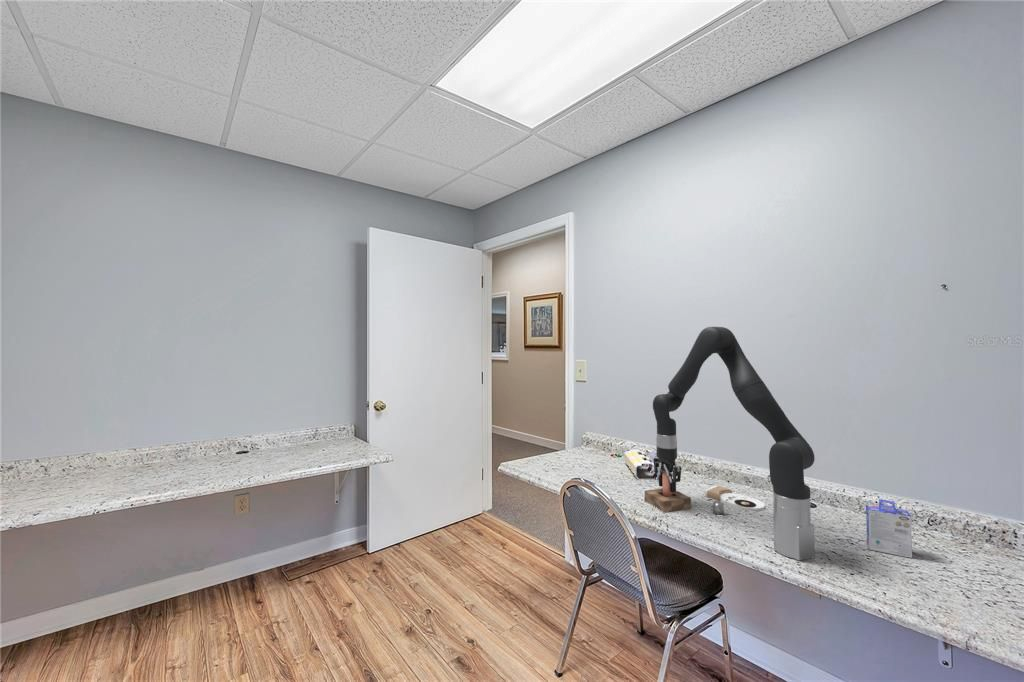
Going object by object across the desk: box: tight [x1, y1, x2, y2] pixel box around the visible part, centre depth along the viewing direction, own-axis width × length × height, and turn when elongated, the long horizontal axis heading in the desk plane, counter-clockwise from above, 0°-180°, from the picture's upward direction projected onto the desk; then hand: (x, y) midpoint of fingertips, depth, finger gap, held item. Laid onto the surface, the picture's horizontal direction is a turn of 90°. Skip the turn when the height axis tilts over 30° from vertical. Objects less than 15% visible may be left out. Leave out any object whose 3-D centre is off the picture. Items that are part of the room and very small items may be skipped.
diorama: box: [623, 448, 658, 481], centre depth 202 cm, size 25×10×13 cm, turn 177°
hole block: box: [644, 487, 692, 513], centre depth 161 cm, size 12×12×4 cm
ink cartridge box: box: [865, 498, 913, 559], centre depth 125 cm, size 10×6×14 cm, turn 58°
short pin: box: [712, 500, 725, 516], centre depth 152 cm, size 4×4×4 cm
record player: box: [704, 485, 766, 512], centre depth 163 cm, size 12×3×20 cm
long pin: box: [662, 472, 673, 497], centre depth 161 cm, size 4×4×12 cm
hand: (667, 488), depth 161 cm, fingers open, 6 cm apart
